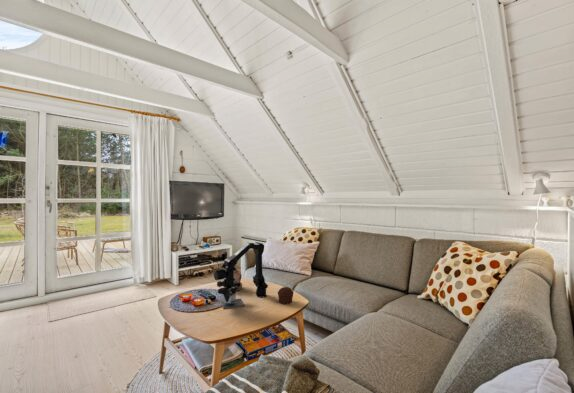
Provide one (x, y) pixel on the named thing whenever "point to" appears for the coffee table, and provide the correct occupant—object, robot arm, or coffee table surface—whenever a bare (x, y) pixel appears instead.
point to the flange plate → (233, 304)
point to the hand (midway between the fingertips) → (229, 300)
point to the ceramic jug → (237, 278)
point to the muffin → (285, 295)
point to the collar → (230, 298)
